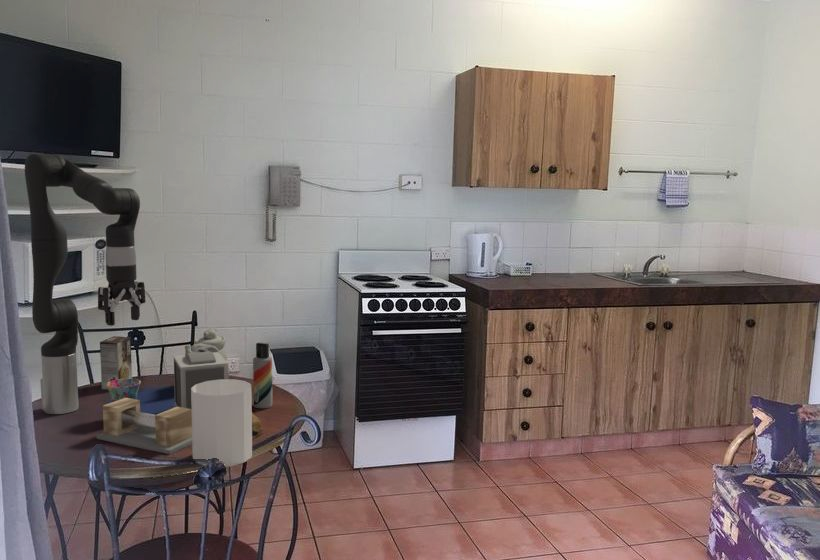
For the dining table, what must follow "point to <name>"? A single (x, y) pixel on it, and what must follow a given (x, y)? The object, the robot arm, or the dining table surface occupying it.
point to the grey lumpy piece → (208, 344)
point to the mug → (123, 389)
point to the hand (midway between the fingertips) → (123, 322)
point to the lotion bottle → (262, 377)
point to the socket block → (173, 426)
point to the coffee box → (115, 359)
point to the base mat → (143, 440)
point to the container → (222, 421)
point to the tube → (138, 419)
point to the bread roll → (256, 426)
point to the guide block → (118, 416)
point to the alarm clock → (196, 373)
